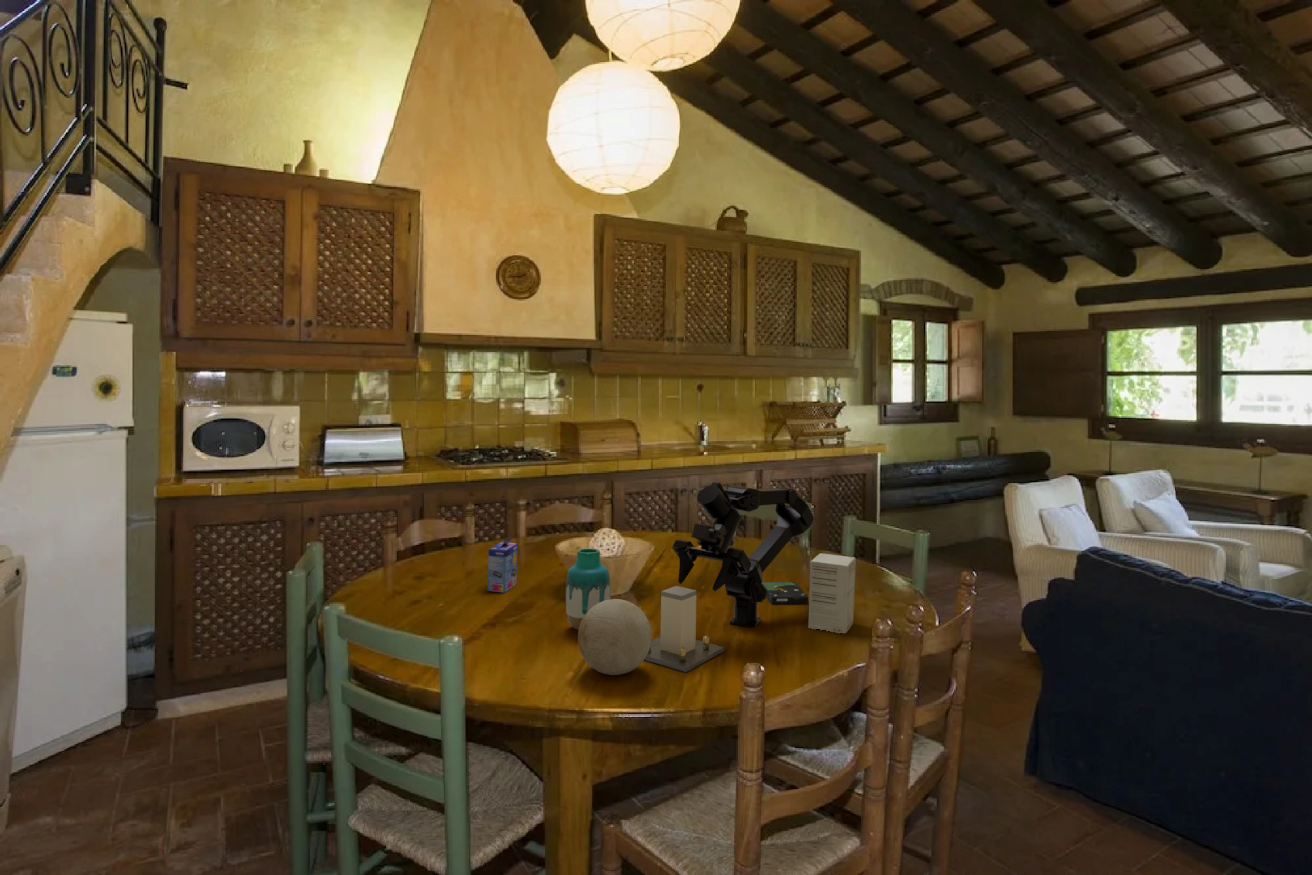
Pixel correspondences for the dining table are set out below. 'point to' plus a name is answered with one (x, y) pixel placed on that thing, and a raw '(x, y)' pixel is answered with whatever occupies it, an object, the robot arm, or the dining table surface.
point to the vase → (586, 585)
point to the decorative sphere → (614, 637)
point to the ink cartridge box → (502, 566)
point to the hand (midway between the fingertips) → (696, 586)
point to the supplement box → (831, 593)
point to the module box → (678, 619)
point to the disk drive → (785, 593)
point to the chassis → (683, 655)
